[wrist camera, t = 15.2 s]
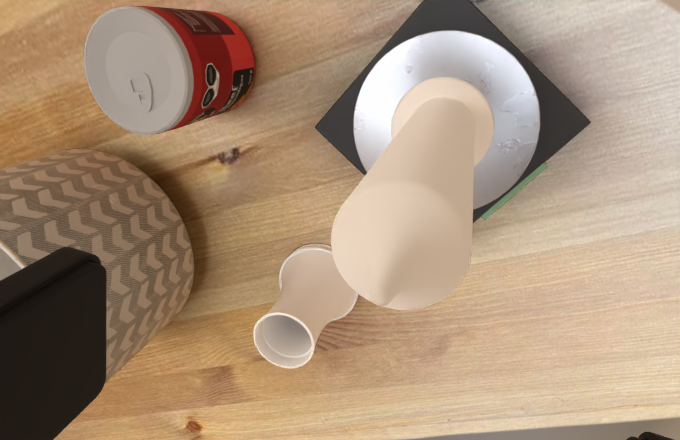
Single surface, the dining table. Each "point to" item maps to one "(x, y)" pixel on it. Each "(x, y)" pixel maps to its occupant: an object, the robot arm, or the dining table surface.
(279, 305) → the vase
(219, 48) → the canned food
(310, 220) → the dining table surface
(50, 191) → the planter
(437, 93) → the candle
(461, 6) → the scale
